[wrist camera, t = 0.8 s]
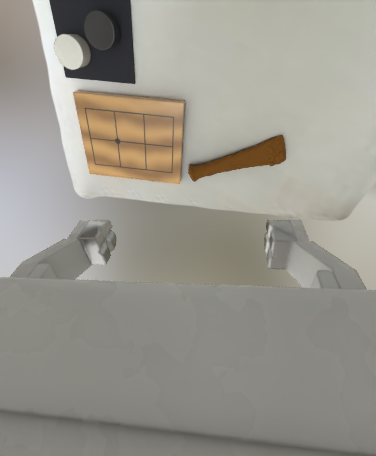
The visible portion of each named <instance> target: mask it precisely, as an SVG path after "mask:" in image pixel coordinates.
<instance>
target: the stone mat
mask: <svg viewBox="0 0 376 456" xmlns="http://www.w3.org/2000/svg"><path fill="white" fill-rule="evenodd" d="M49 1H50V5H51V10H52V15H53V19H54V24H55V29H56V33H57V37H58V36H59V35H61V34H77V35H79V36H81V37H82V38H83V39H84V40H85V41H86V43H87V44H88V46H89V49H90V54H91V57H90V61H89V63H88V65H87V66H85V67H83V68H79V69H75V70H71V69H68V68H66V67H64V71H65V75H66V77H68V78H79V79H89V80H100V81H110V82H121V83H131V84H135V71H134V55H133V39H132V23H131V7H130V0H49ZM92 11H102V12H107V13H110V14H111V15H112V16H114V18H115V19H116V20H117V22H118V24H119V26H120V30H121V38H120V42H119V44H118V45H117V46H116V47H115V48H113V49H108V50H99V49H97V48H95V47H94V46H93V45H92V44H91V43H90V42H89V40H88V39H87V36H86V34H85V29H84V23H85V19H86V17H87V15H88V14H89V13H90V12H92Z"/></svg>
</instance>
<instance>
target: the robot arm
mask: <svg viewBox="0 0 376 456" xmlns="http://www.w3.org/2000/svg"><path fill="white" fill-rule="evenodd" d="M111 228H112V224H111V222H110V221H109V220H81V221H80V222H79V223H78V225H77V226H76V227H75V228H74V230H73V231H72V232H71V234H70V235H69V237H68V238H67V239H63V240H61V241H59V242H57V243H56V244H54V245H52V246H51V247H49V248H47V249H45V250H43V251H41V252H40V253H38V254H36V255H34V256H32V257H31V258H29V259H27V260H25V261H23V262H22V263H21V264H20V265H19V267H18V268H17V269H16V270H15V271H14V272H13V274H12V275H11V276H10V277H0V456H376V290H367V289H366V287H365V285H364V283H363V282H362V280H361V278H360V276H359V274H358V273H357V271H356V270H355V269H353V268H352V267H350V266H349V265H347V264H346V263H344V262H343V261H341V260H340V259H338V258H337V257H335V256H334V255H332V254H331V253H329V252H328V251H327V250H325V249H324V248H322V247H320V246H319V245H318V244H316V243H315V242H313V241H309V238H308V236H307V234H306V231H305V229H304V226H303V224H302V221H301V220H300V219H293V220H292V219H291V220H267V224H266V229H267V232H266V233H265V238H264V246H265V252H266V253H267V263H268V268H269V269H286V270H287V271H288V272H289V273H290V274H291V275H292V276H293V277H294V278H295V280H296V281H297V282H298V283H299V284H300V285H301V286H302V287H303V288H297V287H269V286H240V285H211V284H184V283H181V284H180V283H154V282H125V281H97V280H75V279H76V278H77V277H78V276H79V275H80V274H82V273H83V272H84V271H85V270H86V269H88V268H89V267H90V266H91V265H99V264H100V265H103V264H105V265H106V264H107V262H108V260H109V258H110V256H111V255H110V252H111V251H112V250H114V248H115V246H116V235H115V233H114V232H113V231H112V230H111Z"/></svg>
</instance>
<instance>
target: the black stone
mask: <svg viewBox="0 0 376 456" xmlns="http://www.w3.org/2000/svg"><path fill="white" fill-rule="evenodd" d="M84 29H85V34H86V36H87V39H88V40H89V42H90V43H91V44H92V45H93V46H94V47H95V48H97V49H99V50H108V49H113V48H115V47H116V46H117V45H118V44H119V42H120V38H121V30H120V26H119V24H118V22H117V20H116V19H115V18H114V16H112V15H111V14H110V13H107V12H102V11H92V12H90V13H89V14H88V15H87V17H86V19H85V23H84Z"/></svg>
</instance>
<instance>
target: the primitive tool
mask: <svg viewBox="0 0 376 456" xmlns="http://www.w3.org/2000/svg"><path fill="white" fill-rule="evenodd" d="M285 160H286V150H285V143H284V138H283V136H278V137H274V138H271V139H269V140H267V141H264V142H262V143H260V144H258V145H256V146H254V147H251V148H248V149H245V150H242V151H241V152H238V153H235V154H232V155H229V156H226V157H223V158H221V159H218V160H215V161H211V162H209V163H205V164H201V165H197V166H194V165H191V164H190V165H189V170H188V171H189V172H188V174H189V175H190V177H191V179H192V180H193V181H194V182H195V181H196V180H198V179H199V178H202V177H204V176H211V175H213V174H216V173H221V172H225V171H231V170H236V169H241V168H248V167H254V166H263V165H270V166H273V165H275V164H280V163H281V162H284V161H285Z"/></svg>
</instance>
